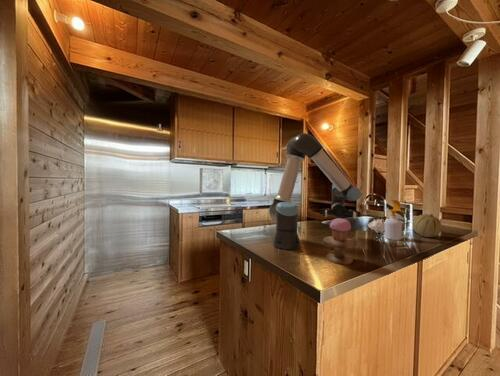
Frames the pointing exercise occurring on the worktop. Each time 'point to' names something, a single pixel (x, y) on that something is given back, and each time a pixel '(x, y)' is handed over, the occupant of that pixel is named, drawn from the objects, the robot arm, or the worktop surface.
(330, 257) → the cake stand
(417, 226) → the cantaloupe
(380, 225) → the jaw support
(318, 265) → the worktop surface
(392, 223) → the soap bottle
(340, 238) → the cupcake
